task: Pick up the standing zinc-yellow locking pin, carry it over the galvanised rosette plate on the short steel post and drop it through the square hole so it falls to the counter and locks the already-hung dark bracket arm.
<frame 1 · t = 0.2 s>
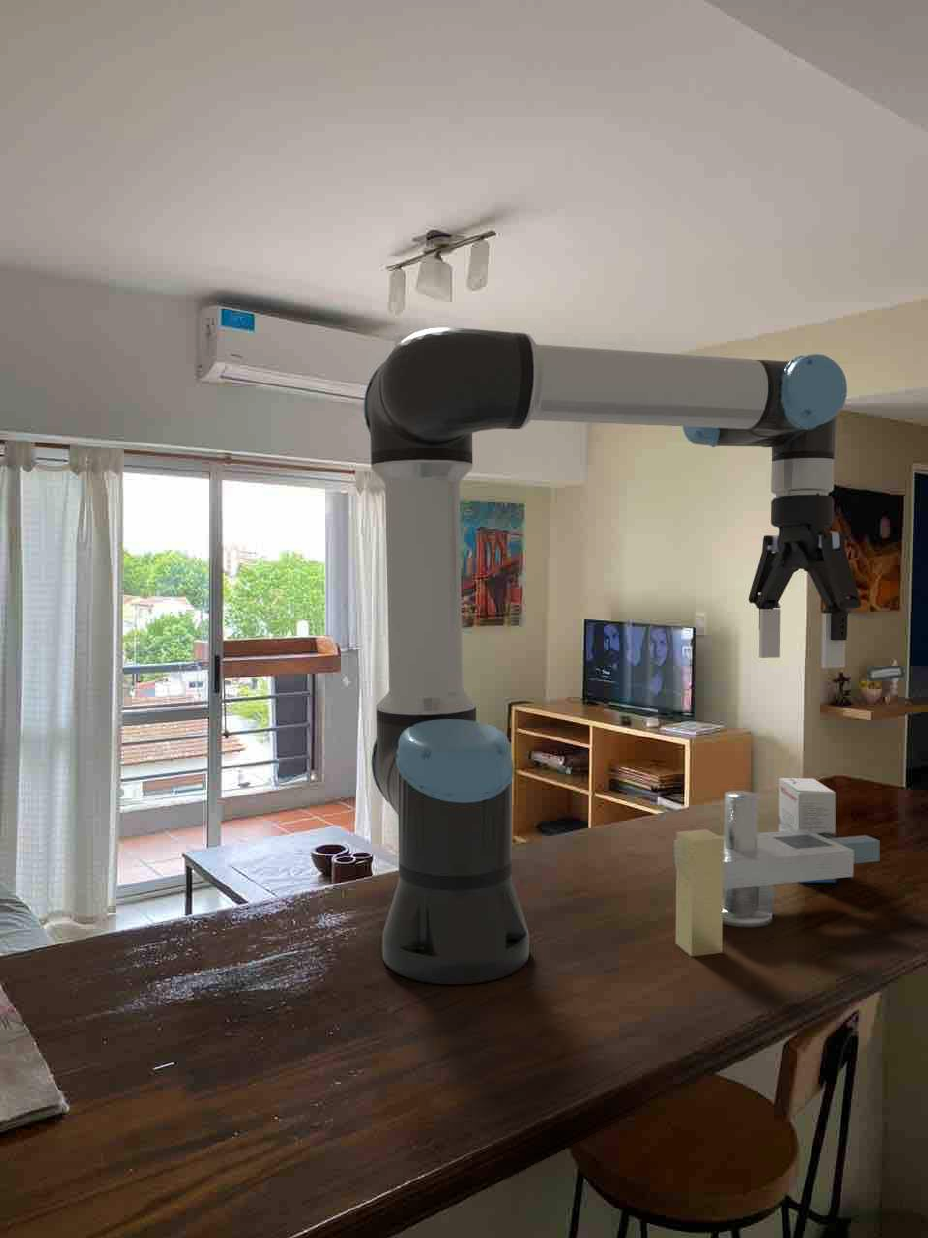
hand: (799, 662, 120), 28 cm above the bar counter, fingers open, 13 cm apart
wedge pin: (698, 948, 98), on the bar counter
ink box: (805, 874, 122), on the bar counter
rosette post: (739, 915, 107), on the bar counter
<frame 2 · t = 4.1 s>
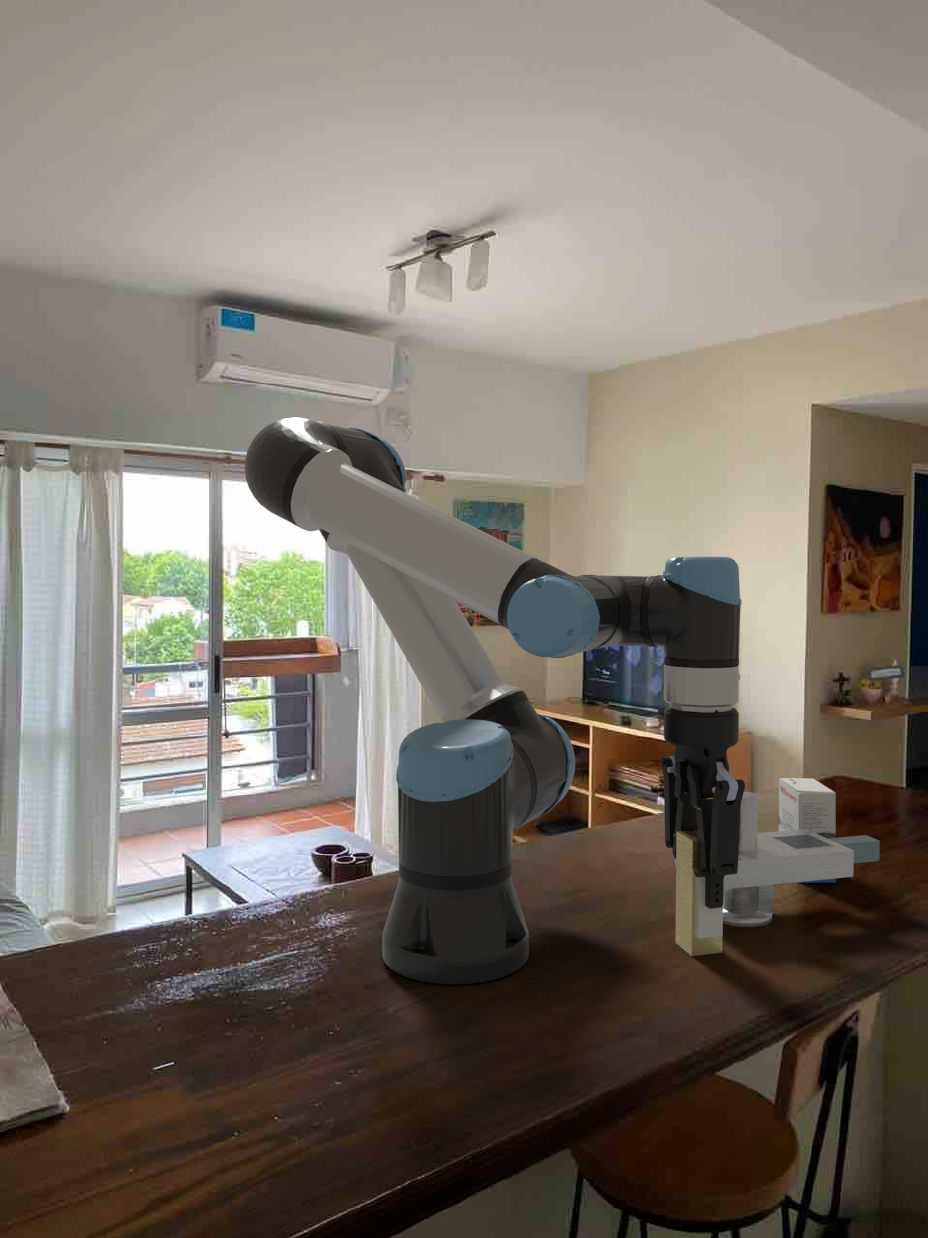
hand: (698, 928, 98), 2 cm above the bar counter, fingers closed on wedge pin, 3 cm apart
wedge pin: (698, 947, 98), on the bar counter, touching gripper
everything else where it was.
when the fingers open (10 cm above the bar counter, at t = 8.4 s): wedge pin drops 7 cm, on the bar counter.
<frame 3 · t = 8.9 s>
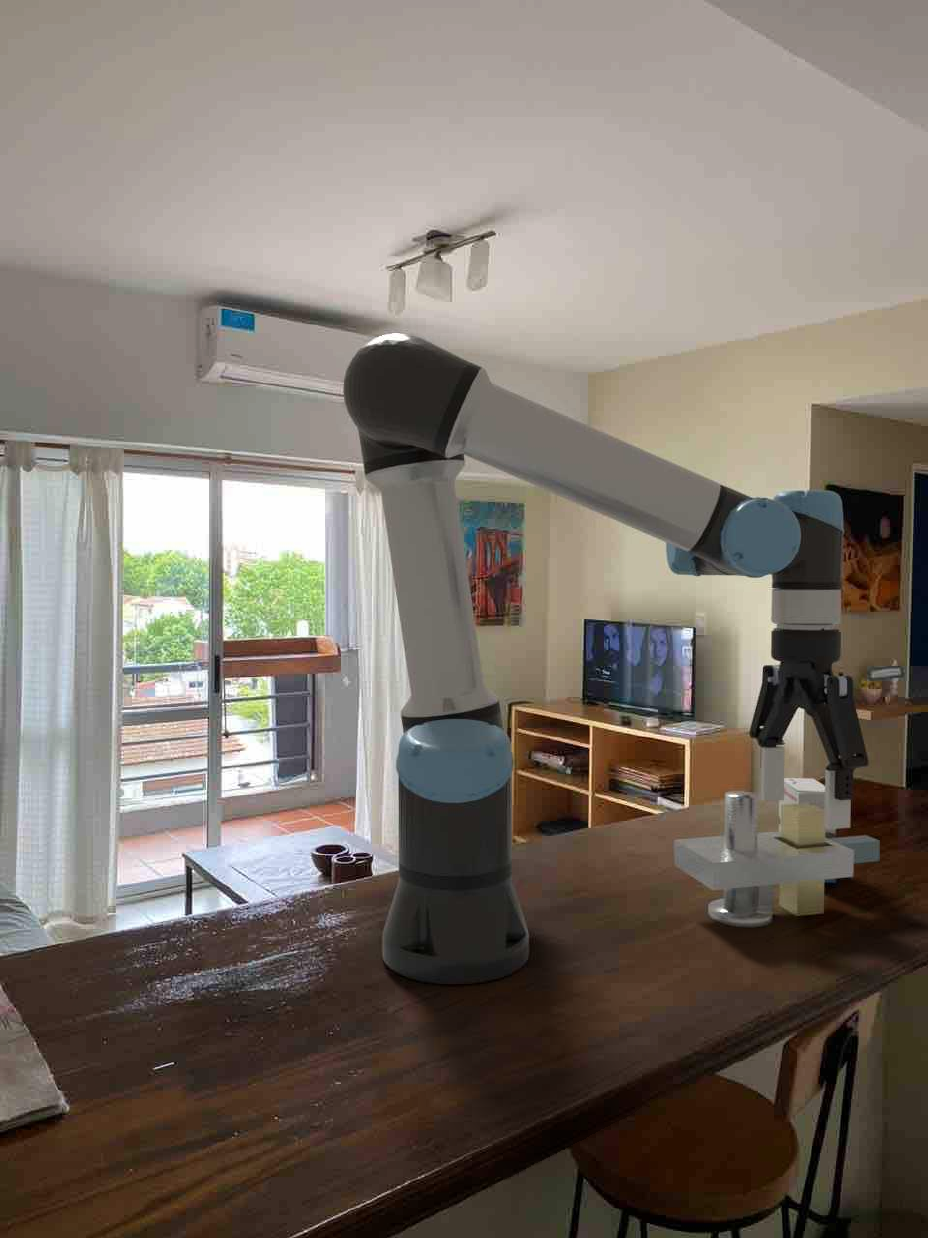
hand: (802, 813, 109), 11 cm above the bar counter, fingers open, 12 cm apart
wedge pin: (801, 909, 109), on the bar counter
everything else where it was.
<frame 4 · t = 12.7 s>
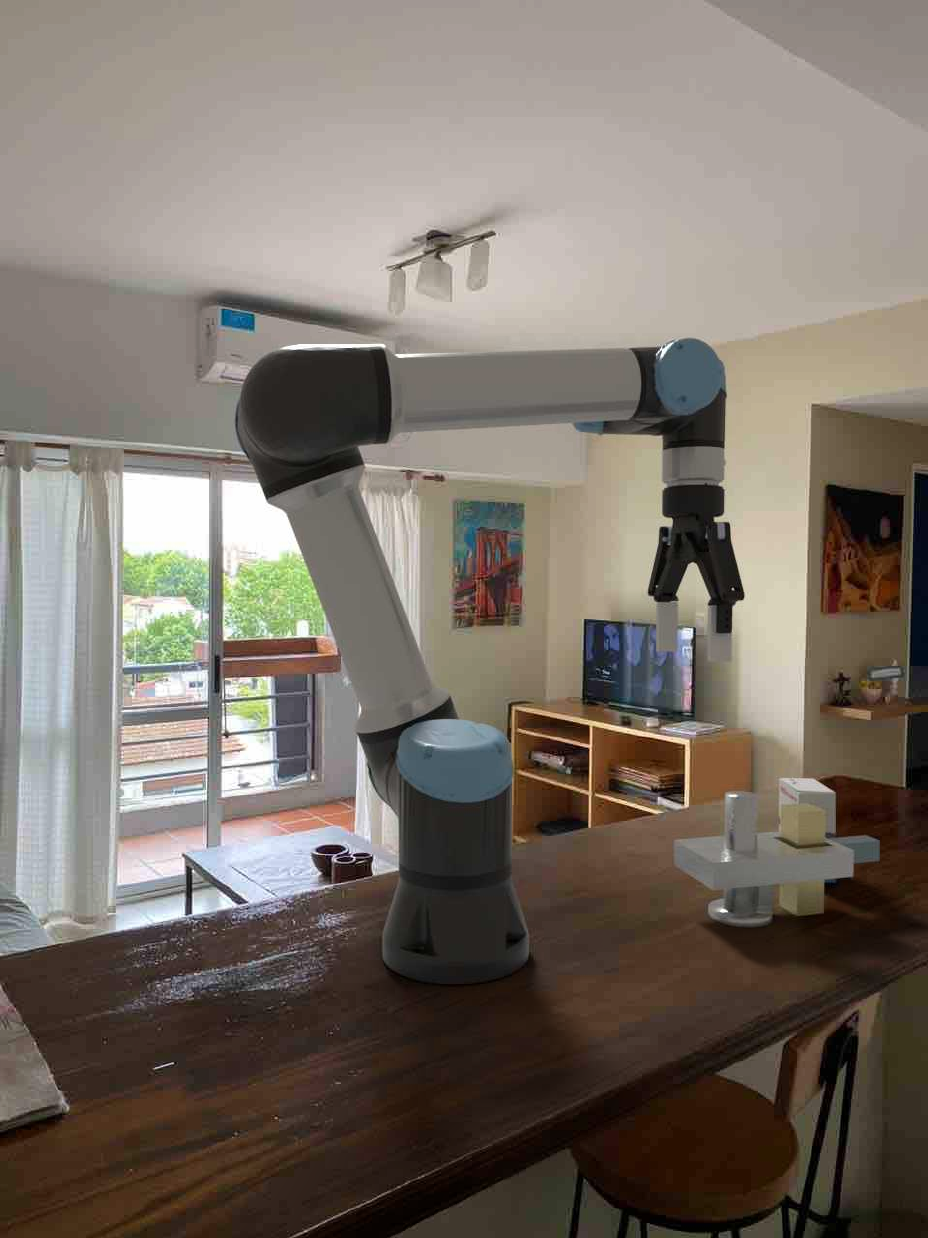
hand: (691, 656, 117), 29 cm above the bar counter, fingers open, 13 cm apart
nothing on the bar counter moved.
at the end: wedge pin 0.0 cm from the target spot on the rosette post, point 0.0 cm above the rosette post's base; wedge pin tilted 0°; the gripper is holding nothing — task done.
